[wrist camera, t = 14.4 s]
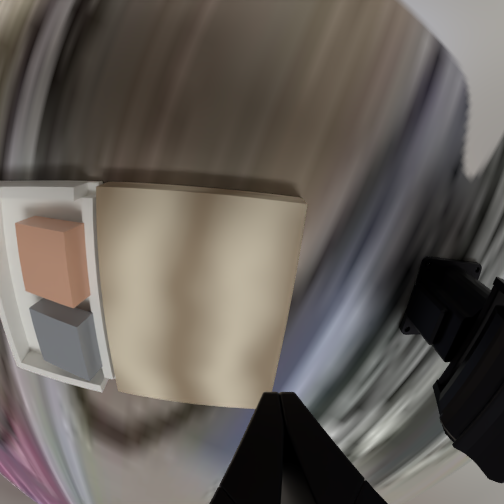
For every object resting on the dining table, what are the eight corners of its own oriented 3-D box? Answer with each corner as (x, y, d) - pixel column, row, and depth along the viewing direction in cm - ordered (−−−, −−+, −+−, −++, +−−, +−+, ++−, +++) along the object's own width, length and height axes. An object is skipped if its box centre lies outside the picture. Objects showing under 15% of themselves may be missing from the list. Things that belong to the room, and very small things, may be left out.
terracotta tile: (84, 223, 17) (63, 232, 15) (90, 295, 19) (73, 308, 17) (34, 215, 18) (15, 223, 16) (42, 280, 19) (25, 290, 17)
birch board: (301, 197, 18) (307, 204, 17) (266, 391, 24) (267, 409, 22) (109, 181, 18) (96, 186, 16) (125, 375, 23) (118, 391, 21)
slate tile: (92, 313, 19) (76, 327, 17) (102, 366, 21) (89, 381, 19) (45, 296, 20) (28, 307, 18) (57, 347, 21) (43, 359, 20)
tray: (102, 181, 18) (84, 187, 15) (119, 374, 23) (111, 394, 21) (-2, 180, 17) (-22, 187, 15) (29, 351, 22) (17, 366, 20)
